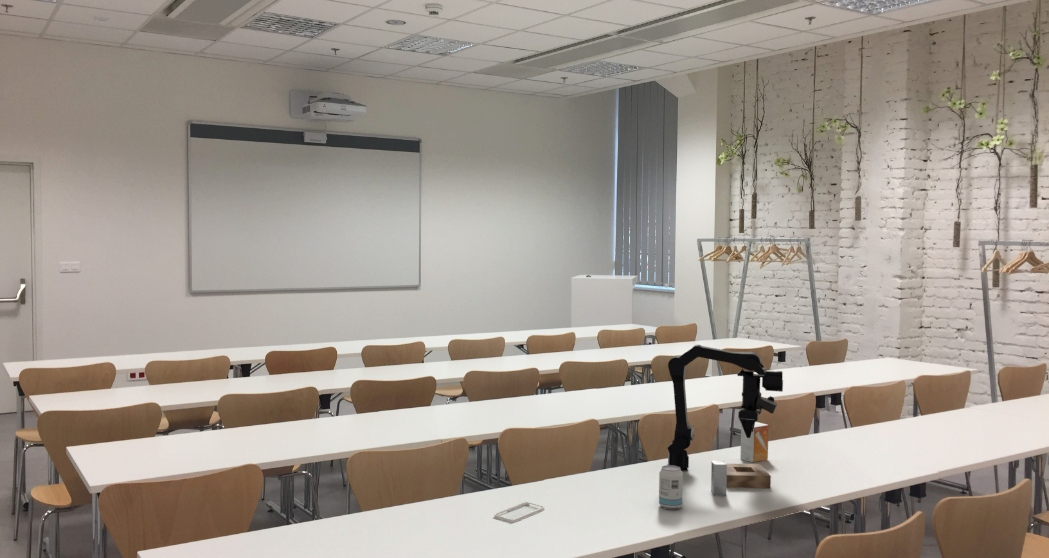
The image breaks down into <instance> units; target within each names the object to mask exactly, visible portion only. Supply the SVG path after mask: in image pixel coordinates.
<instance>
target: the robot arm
mask: <svg viewBox="0 0 1049 558" xmlns="http://www.w3.org/2000/svg"><path fill="white" fill-rule="evenodd" d="M697 358H701V359H708V360H713V361H717V362H723V363H726V364H727V363H729V364H732V365H734V366H737V367H739V368H741V369H740V371H738V372H737V374H736V375H737V377H742V392H741V397H742V398H741V399H742V401H741V409H740V410H739V411H738V415H737V416H738V419H739V421H740V425H741V424H742V427H743V429H744V432H745V434H746V437H747V438H750V437H751V432H753V430H754V425H755V422H758V421H759V415H760V414H761V413H762V411H766V412H768V413H769V414H774V413H775V411H776V408H777V406H778V403H777V402H776V401H775V397H773V396H771V395H770V396H769V397H763V396H762V392H761V388H763V389H765V390H764V391H767V392H781V393H782V392H783V389H784V379H783V375H784V374H783V372H784V371H782V370H776V371H775V370H774V371H773V370H767V369H766V366H764V365H763V363H762V358H761V356H760V354H759V353H758V352H755V351H731V350H725V349H722V348H721V349H720V348H719V349H718V348H714V347H710V346H704V345H701V344H694V346H693V347H691V348H690V349H688V350H687V351H686V352H684V353H683V354H680V355H679V354H678V355H674V356H673V357H672V358H671V359H669V361H668V363H667V368H668V373H669V376H670V379H671V381H672V386H673V396H674V398H673V399H674V410H675V412H674V413H675V422H676V423H675V428H674V429H675V430H674V437H673V440H672V441H670V443H669V444H668V446H667V465H673V466H678V467H680V470H681V472H685V471H686V472H688V470H689V467H690V466H689V465H690V464H689V462H690V457H689V455H688V451H687V450H686V449H688V448H689V447H690V446H691V444H692V442H693V440H694V438H695V433H694V427H695V426H694V425H693V424H692V425H690V423H689V419H688V407H687V406H688V405H687V394H686V392H687V391H686V377H687V376H686V375H687V366H688V365H689V364H690V363H692V362H693V361H695V360H696V359H697ZM761 378H762V379H761Z"/></svg>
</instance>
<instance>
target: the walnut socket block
mask: <svg viewBox="0 0 1049 558" xmlns="http://www.w3.org/2000/svg"><path fill="white" fill-rule="evenodd" d="M726 464H727V485H726V488H743V489H744V488H747V489H749V488H750V489H751V488H754V489H771V483H772V482H771V479H772V475H770V473H769V472H768V471H767V470H766V469H765V468H764V466H763V465H761V463H726Z"/></svg>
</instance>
